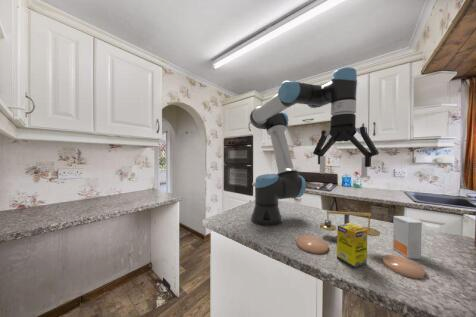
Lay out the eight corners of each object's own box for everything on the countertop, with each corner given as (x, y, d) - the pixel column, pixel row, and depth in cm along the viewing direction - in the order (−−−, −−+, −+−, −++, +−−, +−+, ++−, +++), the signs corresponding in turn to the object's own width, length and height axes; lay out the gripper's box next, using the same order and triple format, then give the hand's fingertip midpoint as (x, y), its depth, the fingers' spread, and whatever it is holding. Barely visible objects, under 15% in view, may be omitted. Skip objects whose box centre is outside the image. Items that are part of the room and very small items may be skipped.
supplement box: (355, 269, 50) (355, 232, 50) (336, 258, 56) (336, 224, 56) (367, 264, 53) (368, 229, 53) (348, 254, 58) (348, 222, 58)
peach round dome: (290, 243, 65) (290, 240, 65) (306, 235, 72) (306, 232, 71) (318, 257, 56) (318, 254, 56) (334, 247, 63) (334, 243, 63)
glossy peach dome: (378, 265, 52) (378, 261, 52) (387, 255, 58) (387, 251, 58) (422, 283, 45) (422, 278, 45) (427, 269, 50) (427, 265, 50)
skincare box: (392, 248, 62) (392, 215, 61) (404, 248, 62) (405, 215, 61) (408, 258, 56) (409, 222, 55) (421, 259, 56) (422, 222, 55)
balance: (316, 235, 72) (317, 203, 71) (324, 231, 75) (324, 201, 75) (376, 259, 55) (377, 217, 55) (382, 252, 59) (382, 213, 59)
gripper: (304, 119, 68) (303, 172, 69) (385, 105, 49) (383, 180, 49) (314, 121, 73) (313, 171, 74) (392, 109, 53) (389, 178, 54)
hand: (341, 175), depth 61 cm, fingers open, 13 cm apart
